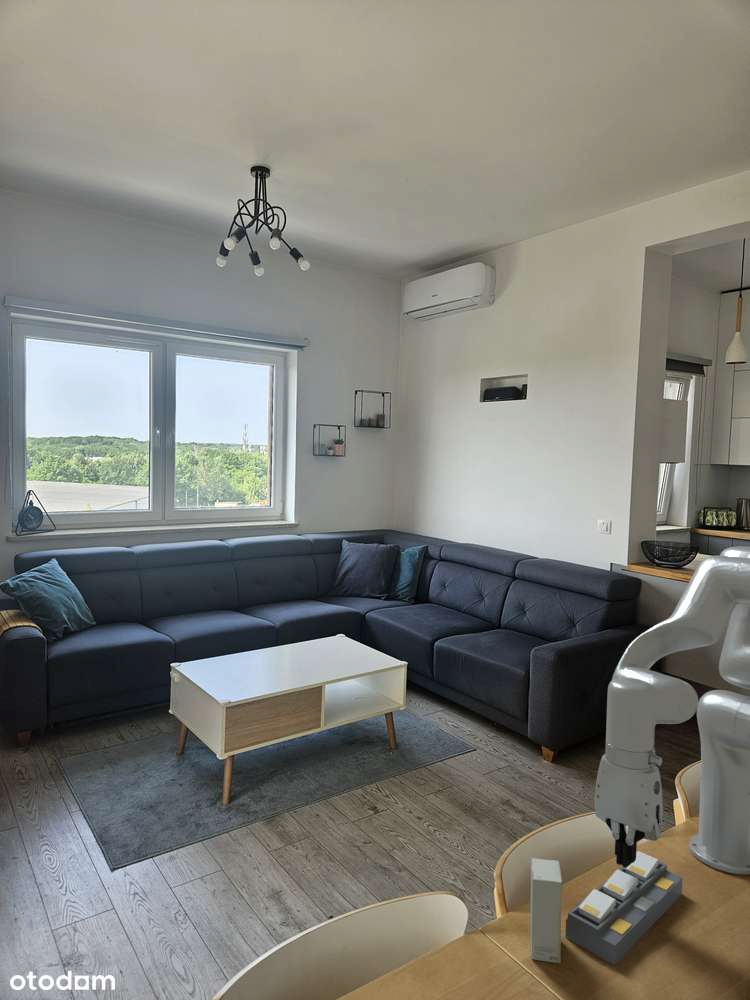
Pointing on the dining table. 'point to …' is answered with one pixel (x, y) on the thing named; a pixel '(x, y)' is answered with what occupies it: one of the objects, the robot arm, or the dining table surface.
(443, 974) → the dining table surface
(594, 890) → the block
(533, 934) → the skincare box
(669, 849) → the dining table surface
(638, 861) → the plate
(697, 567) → the robot arm
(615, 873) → the block
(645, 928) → the switch unit
